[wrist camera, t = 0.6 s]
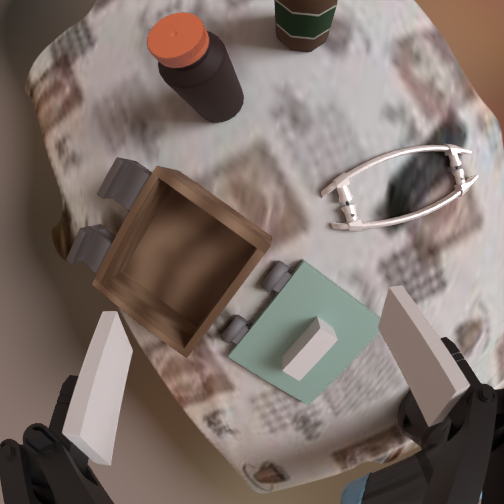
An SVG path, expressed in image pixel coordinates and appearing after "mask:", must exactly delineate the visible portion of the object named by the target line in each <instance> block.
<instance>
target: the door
mask: <svg viewBox="0 0 504 504" xmlns="http://www.w3.org/2000/svg"><path fill="white" fill-rule="evenodd" d="M288 269H289V268H288V266H286V265H285V264H284V263H283V262H281V261H278V262H277V263H276V264H275V266H274V267H273V268H272V270H271V271H270V272H269V274H268V275H267V276H266V278H265V279H264V280H263V282H262V283H261V285H262V287H263V288H265V289H266V290H267V291H269V292H271V291H272V290H275V291H276V292H277V293H276V295H275V296H274V297H273V298H272V300H271V301H270V302H269V303H268V305H267V306H266V307H265V308H264V310H263V311H262V312H261V313H260V315H259V316H258V317H257V318H256V320H255V321H254V322H253V323H252V325H251V326H250V327H248V326H247V325H245V324H246V320H245V319H244V318H243V317H241V316H239V315H236V317H235V318H234V319H233V321H232V322H231V323H230V324H229V326H228V327H227V328H226V330H225V331H224V332H223V333H222V335H221V338H222V340H224V341H225V342H227V343H231V342H234V343H235V346H234V347H233V348H232V349H231V350H230V352H229V355H228V357H229V358H231V359H232V360H234V361H235V362H237V363H238V364H240V365H242V366H243V367H245V368H246V369H248V370H249V371H251V372H253V373H254V374H256V375H258V376H259V377H261V378H262V379H264V380H266V381H267V382H269V383H271V384H272V385H274V386H276V387H278V388H279V389H281V390H283V391H284V392H286V393H288V394H290V395H291V396H293V397H295V398H297V399H298V400H300V401H302V402H304V403H306V404H307V405H309V404H310V403H311V402H312V401H313V400H314V399H315V398H317V397H318V396H319V395H320V394H321V393H322V392H323V391H324V390H325V389H326V388H327V387H328V386H329V385H330V384H331V383H332V382H333V381H334V380H335V379H336V378H337V377H338V376H339V375H340V374H341V373H342V372H343V371H344V369H345V368H346V367H347V366H348V365H349V364H350V363H351V362H352V361H353V360H354V359H355V358H356V357H357V356H358V355H359V353H360V352H361V351H362V350H363V349H364V348H365V347H366V346H367V345H368V343H369V342H370V341H371V340H372V339H373V338H374V337H375V335H376V334H377V333H378V332H379V329H378V325H379V322H380V317H379V316H378V315H377V314H375V313H374V312H373V311H371V310H370V309H369V308H367V307H366V306H365V305H363V304H362V303H361V302H359V301H358V300H357V299H355V298H354V297H353V296H351V295H350V294H349V293H348V292H346V291H345V290H344V289H342V288H341V287H340V286H338V285H337V284H336V283H334V282H333V281H331V280H330V279H329V278H327V277H326V276H325V275H323V274H322V273H321V272H319V271H318V270H317V269H315V268H314V267H313V266H311V265H310V264H309V263H307V262H306V261H304V260H302V261H301V262H300V264H299V265H298V266H297V267H296V269H295V270H294V271H293V273H292V274H291V273H289V272H288Z"/></svg>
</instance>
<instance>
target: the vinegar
mask: <svg viewBox="0 0 504 504" xmlns="http://www.w3.org/2000/svg"><path fill="white" fill-rule="evenodd" d="M147 39H148V40H147V43H148V44H147V45H148V50H149V51H150V53H151V54H152V55H153V56H154V57H155V58H156V59H157V60H158V61H159V62H158V67H159V72H160V75H161V76H162V78H163V79H164V81H165V82H166V83H167V84H168V85H169V86H170V87H171V88H173V89H174V90H175V91H176V92H177V93H178V94H179V95H180V96H181V97H182V98H183V99H184V100H185V101H186V102H187V103H189V104H190V105H191V106H192V107H193V108H194V109H195V110H196V111H197V112H198V113H199V114H200V115H201V116H202V117H204V118H205V119H206V120H210V121H213V122H223V121H226V120H229V119H231V118H232V117H234V116H235V115H236V114H237V113H238V112H239V111H240V109H241V107H242V105H243V100H244V95H243V92H242V89H241V86H240V83H239V81H238V78H237V76H236V73H235V71H234V68H233V65H232V63H231V60H230V58H229V55H228V53H227V50H226V48H225V45H224V44H223V42H222V41H221V40H220V39H219V37H218V36H216V35H214V34H212V33H211V32H208V31H206V29H205V27H204V25H203V23H202V21H201V20H200V19H199V18H198V17H196V16H195V15H193V14H189V13H184V12H183V13H176V14H171V15H169V16H167V17H165V18H163V19H162V20H160V21H158V23H157V24H156V25H155V26H153V28H152V30H151V32H150V33H149V36H148V38H147Z"/></svg>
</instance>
